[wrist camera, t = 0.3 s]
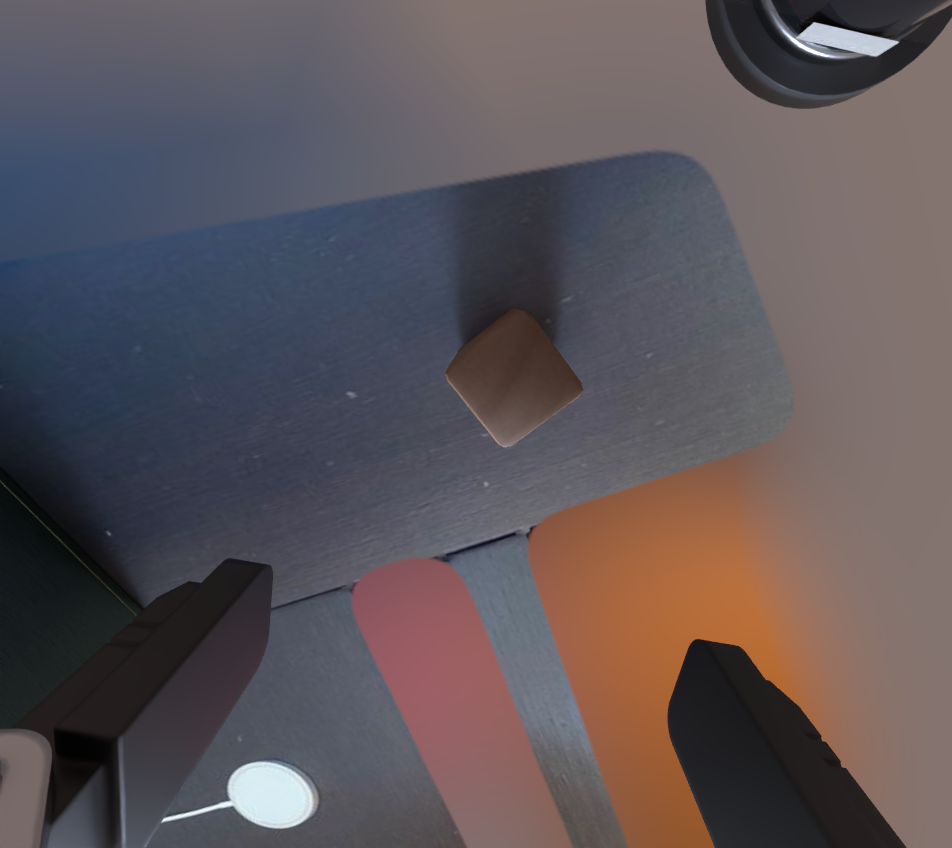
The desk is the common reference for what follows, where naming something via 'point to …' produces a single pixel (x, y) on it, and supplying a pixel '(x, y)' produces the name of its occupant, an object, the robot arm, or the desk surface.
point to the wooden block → (513, 377)
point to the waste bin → (47, 604)
